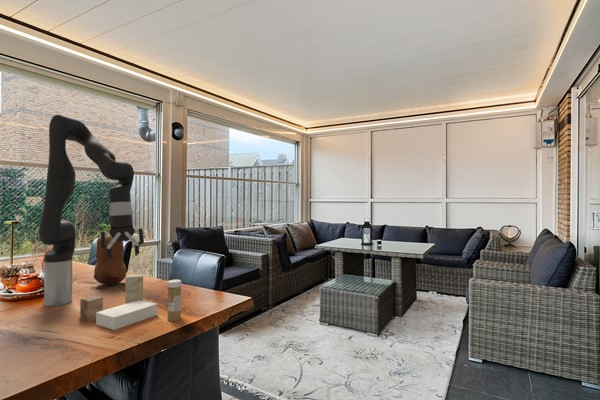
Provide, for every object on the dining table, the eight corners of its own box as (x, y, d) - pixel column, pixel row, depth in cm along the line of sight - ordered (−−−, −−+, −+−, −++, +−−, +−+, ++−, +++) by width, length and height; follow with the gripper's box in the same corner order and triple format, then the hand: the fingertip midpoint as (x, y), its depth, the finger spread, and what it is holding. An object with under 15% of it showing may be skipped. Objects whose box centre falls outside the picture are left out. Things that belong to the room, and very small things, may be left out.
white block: (96, 324, 111) (96, 312, 111) (139, 310, 125) (139, 299, 125) (114, 330, 106) (114, 317, 106) (157, 314, 120) (157, 303, 120)
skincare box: (125, 309, 126) (125, 277, 126) (125, 306, 130) (125, 275, 130) (143, 307, 129) (143, 275, 129) (143, 304, 133) (143, 273, 133)
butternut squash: (121, 279, 174) (121, 232, 174) (130, 284, 164) (130, 233, 164) (90, 284, 164) (90, 234, 164) (98, 289, 154) (98, 236, 154)
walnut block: (80, 318, 116) (80, 298, 116) (94, 314, 121) (94, 295, 121) (88, 321, 114) (88, 300, 114) (102, 316, 118) (102, 297, 118)
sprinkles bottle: (164, 319, 116) (164, 280, 116) (177, 316, 119) (177, 278, 119) (171, 322, 112) (171, 282, 113) (183, 319, 116) (183, 280, 116)
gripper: (140, 213, 132) (143, 254, 132) (99, 215, 125) (101, 259, 124) (143, 212, 126) (145, 255, 125) (99, 215, 118) (101, 261, 118)
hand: (123, 257), depth 125 cm, fingers open, 8 cm apart
